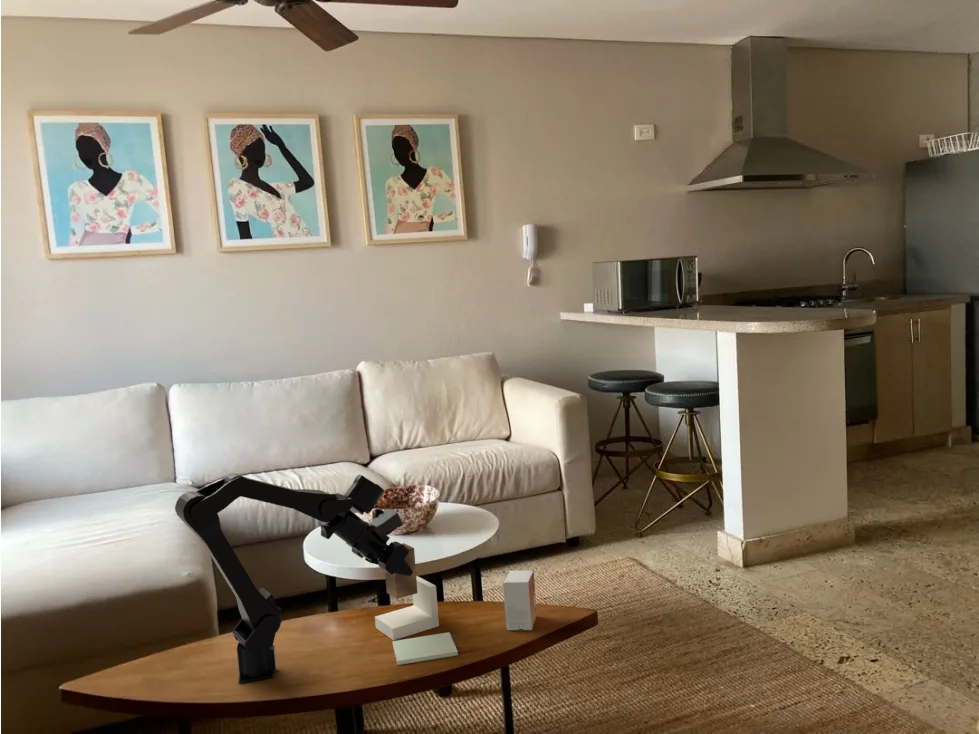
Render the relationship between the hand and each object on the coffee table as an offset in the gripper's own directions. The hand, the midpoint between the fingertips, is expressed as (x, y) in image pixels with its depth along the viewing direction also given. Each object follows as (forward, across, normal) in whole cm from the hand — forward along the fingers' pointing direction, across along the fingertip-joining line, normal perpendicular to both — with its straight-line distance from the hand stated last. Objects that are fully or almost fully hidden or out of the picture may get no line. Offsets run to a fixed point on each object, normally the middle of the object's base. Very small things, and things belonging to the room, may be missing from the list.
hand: (406, 571), depth 175 cm
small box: (+22, -16, -5) cm, 28 cm away
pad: (+6, -13, +11) cm, 19 cm away
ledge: (+8, 0, +9) cm, 12 cm away
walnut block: (+2, 0, +4) cm, 5 cm away
